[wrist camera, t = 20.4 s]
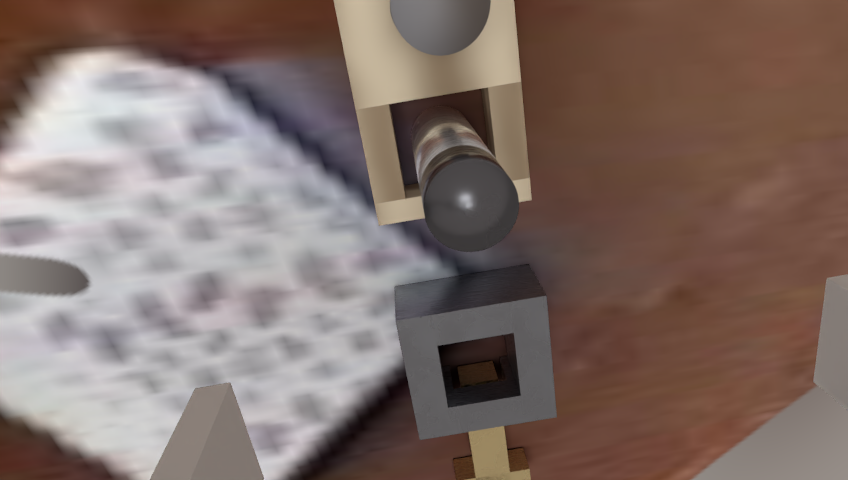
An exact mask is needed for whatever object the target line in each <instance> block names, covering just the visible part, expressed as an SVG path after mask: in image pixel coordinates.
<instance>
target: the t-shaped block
mask: <svg viewBox="0 0 848 480" xmlns="http://www.w3.org/2000/svg"><path fill="white" fill-rule="evenodd" d="M457 368H458V374H459V380H460V387H461V388H462V387H468V386H474V385H480V384H486V383H492V382H498V378H497V374H496V371H495V368H494V364H493V361H488V362H482V363H476V364H470V365H464V366H458V367H457ZM468 436H469V442H470V449H471V455H472V456H471V457H465V458H459V459H453V462H454V469H455V476H456V480H531V478H530V469H529V466H528V463H527V459H526V456H525V453H524V450H523V448H519V449H513V450H507V445H506V438H505V430H504V426H501V427H495V428H489V429H483V430H477V431H471V432H468Z"/></svg>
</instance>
